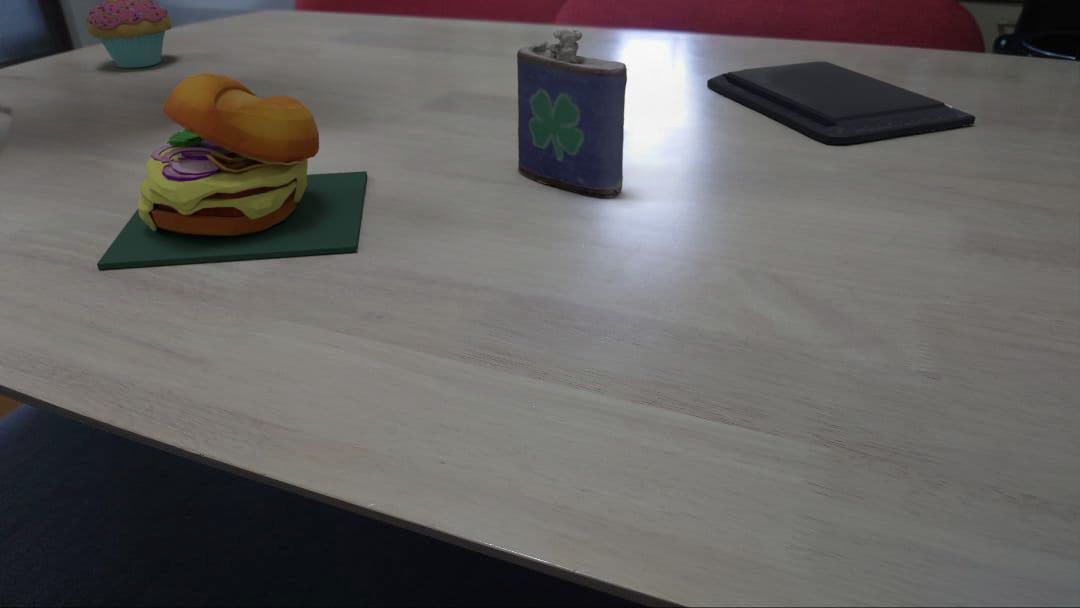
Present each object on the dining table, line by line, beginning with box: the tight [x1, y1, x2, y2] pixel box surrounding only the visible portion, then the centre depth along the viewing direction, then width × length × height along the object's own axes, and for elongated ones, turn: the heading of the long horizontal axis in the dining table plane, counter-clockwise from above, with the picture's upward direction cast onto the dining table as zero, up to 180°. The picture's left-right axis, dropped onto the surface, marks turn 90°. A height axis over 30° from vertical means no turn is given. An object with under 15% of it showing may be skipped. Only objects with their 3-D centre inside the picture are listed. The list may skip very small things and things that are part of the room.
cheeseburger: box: [137, 72, 320, 236], centre depth 52 cm, size 10×11×10 cm
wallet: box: [706, 60, 976, 146], centre depth 75 cm, size 20×2×15 cm
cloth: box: [96, 170, 368, 270], centre depth 55 cm, size 15×13×1 cm
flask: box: [516, 29, 628, 199], centre depth 57 cm, size 9×3×11 cm, turn 47°
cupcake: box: [85, 0, 173, 69], centre depth 90 cm, size 9×8×12 cm
